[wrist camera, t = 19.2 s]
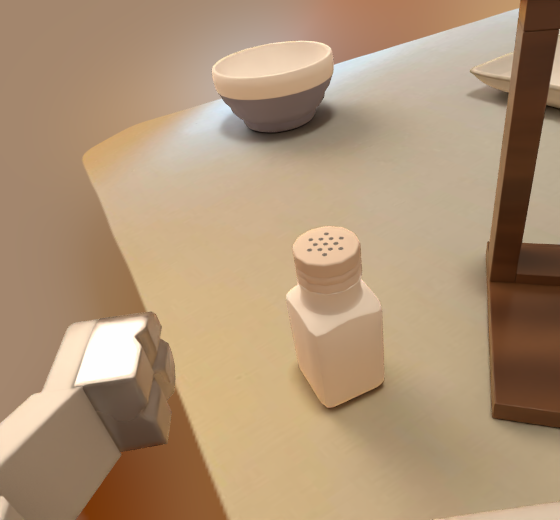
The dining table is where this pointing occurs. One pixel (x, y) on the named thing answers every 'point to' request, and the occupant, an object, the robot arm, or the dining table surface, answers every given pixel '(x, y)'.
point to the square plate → (500, 75)
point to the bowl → (275, 83)
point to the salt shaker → (335, 317)
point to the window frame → (524, 256)
